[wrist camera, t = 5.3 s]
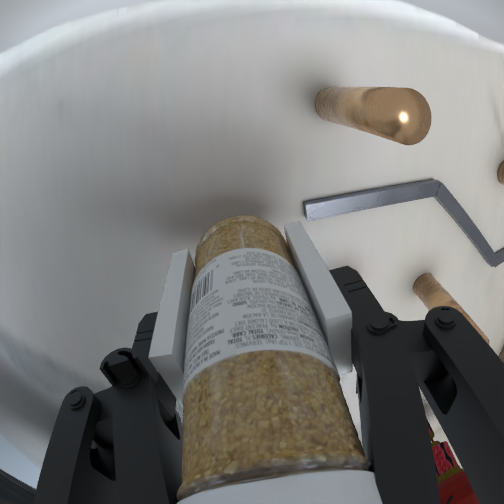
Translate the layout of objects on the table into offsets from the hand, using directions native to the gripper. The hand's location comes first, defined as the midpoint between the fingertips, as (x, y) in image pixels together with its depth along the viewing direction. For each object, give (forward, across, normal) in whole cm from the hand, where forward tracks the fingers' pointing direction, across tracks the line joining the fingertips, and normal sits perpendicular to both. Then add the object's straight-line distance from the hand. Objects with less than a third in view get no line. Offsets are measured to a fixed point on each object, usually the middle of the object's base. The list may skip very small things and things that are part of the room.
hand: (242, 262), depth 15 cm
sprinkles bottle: (+1, 0, 0) cm, 1 cm away
